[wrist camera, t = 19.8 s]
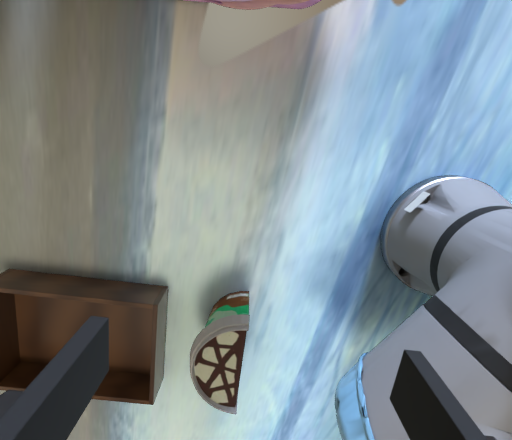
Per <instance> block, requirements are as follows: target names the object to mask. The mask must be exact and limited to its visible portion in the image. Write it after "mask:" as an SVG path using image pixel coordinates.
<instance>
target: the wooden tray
mask: <svg viewBox="0 0 512 440" xmlns="http://www.w3.org/2000/svg"><path fill="white" fill-rule="evenodd" d="M167 302H168V286H159V285H150V284H141V283H132V282H123V281H114V280H105V279H96V278H87V277H78V276H70V275H61V274H52V273H43V272H34V271H25V270H16V269H8V270H6V271H5V272H3V273H1V274H0V390H6V391H7V390H18V391H24V390H25V389H26V388H27V387H28V386H29V385H30V384H31V382H32V381H33V380H34V379H35V378H36V377H37V376H38V375H39V373H40V372H41V371H42V370H43V369H44V368H45V367H46V366H47V364H48V363H49V362H50V361H51V360H52V359H53V358H54V357H55V356H56V354H57V353H58V352H59V351H60V350H61V349H62V348H63V347H64V345H65V344H66V343H67V342H68V341H69V340H70V339H71V338H72V336H73V335H74V334H75V333H76V332H77V331H78V330H79V329H80V328H81V326H82V325H83V324H84V323H85V322H86V321H87V320H88V319H89V317H90V316H98V317H107V318H109V371H108V373H107V374H106V376H105V377H104V379H103V381H102V382H101V384H100V386H99V387H98V389H97V391H96V392H95V394H94V395H93V397H92V399H98V400H108V401H119V402H129V403H139V404H150V405H153V404H154V401H155V399H156V396H157V393H158V391H159V388H160V385H161V383H162V380H163V374H164V356H165V338H166V320H167Z"/></svg>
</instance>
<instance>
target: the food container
mask: <svg viewBox="0 0 512 440" xmlns="http://www.w3.org/2000/svg"><path fill="white" fill-rule="evenodd" d="M248 330H249V291H239V292H234V293H230V294H228V295H226V296H224V297H222V298H220V299H219V301H218V302H217V303H216V304H215V305H214V306H213V308H212V311H211V313H210V315H209V318H208V321H207V323H206V326H205V328H204V329H203V330H202V331H201V332H200V333H199V334H198V336H197V337H196V339H195V340H194V342H193V345H192V347H191V352H190V373H191V378H192V381H193V384H194V386H195V389H196V390H197V392H198V393H199V395H200V396H201V397H202V398H203V399H204V400H205V401H206V402H207V403H208V404H210V405H211V406H213V407H214V408H216V409H219V410H221V411H224V412H227V413H231V414H236V411H237V398H238V387H239V380H240V373H241V366H242V361H243V360H242V359H243V352H244V346H245V339H246V331H248Z"/></svg>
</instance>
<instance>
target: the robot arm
mask: <svg viewBox="0 0 512 440" xmlns="http://www.w3.org/2000/svg"><path fill="white" fill-rule="evenodd" d="M381 250H382V254H383V257H384V260H385V262H386V264H387V265H388V267H389V268H390V270H391V271H392V272H393V273H394V274H395V275H396V276H397V277H398V278H399V279H400V280H401V281H402V282H403V283H404V284H406V285H407V286H409V287H410V288H412V289H414V290H417V291H420V292H423V293H426V294H429V295H432V296H433V297H432V298H430V299H429V300H428V301H427V302H426V303H425V304H423V305H422V306H421V307H420V308H418V309H417V310H416V311H415V312H414V313H413V314H412V315H411V316H409V317H408V318H407V319H406V320H405V321H404V322H403V323H402V324H400V325H399V326H398V327H397V328H396V329H395V330H394V331H393V332H391V333H390V334H389V335H388V336H387V337H386V338H385V339H384V340H382V341H381V342H380V343H379V344H378V345H377V346H376V347H375V348H373V349H372V350H371V351H370V352H367V353H364V354H362V355H361V357H360V358H359V360H358V362H357V363H356V364H355V365H354V366H353V367H352V368H351V369H350V370H349V371H348V372H347V373H346V374H345V375H344V376H343V377H342V379H341V380H340V382H339V383H338V386H337V389H336V393H335V408H336V413H337V415H336V416H337V422H338V427H339V430H340V434H341V437H342V440H512V204H511V203H509V202H508V201H507V200H506V199H505V198H504V197H502V196H501V195H500V194H499V193H498V192H497V191H496V190H495V189H493V188H492V187H491V186H489V185H487V184H486V183H483V182H481V181H479V180H475V179H471V178H467V177H462V176H454V175H445V176H438V177H433V178H430V179H427V180H425V181H422V182H420V183H418V184H416V185H414V186H413V187H411V188H410V189H408V190H407V191H406V192H405V193H403V194H402V195H401V196H400V197H399V198H398V199H397V200H396V202H395V203H394V204H393V206H392V207H391V209H390V210H389V212H388V214H387V216H386V218H385V220H384V223H383V226H382V231H381ZM108 371H109V318H107V317H98V316H90V317H89V319H88V320H87V321H86V322H85V323H84V324H83V325H82V326H81V328H80V329H79V330H78V331H77V332H76V333H75V334H74V335H73V336H72V338H71V339H70V340H69V341H68V342H67V343H66V344H65V345H64V347H63V348H62V349H61V350H60V351H59V352H58V353H57V354H56V356H55V357H54V358H53V359H52V360H51V361H50V362H49V363H48V364H47V366H46V367H45V368H44V369H43V370H42V371H41V372H40V373H39V375H38V376H37V377H36V378H35V379H34V380H33V381H32V382H31V384H30V385H29V386H28V387H27V388H26V389H25V390H24V391H18V390H7V391H6V392H4V393H3V394H1V395H0V440H66V439H67V438H68V436H69V435H70V433H71V431H72V430H73V428H74V426H75V425H76V423H77V421H78V420H79V418H80V417H81V415H82V413H83V412H84V410H85V408H86V407H87V405H88V404H89V402H90V400H91V399H92V397H93V395H94V394H95V392H96V391H97V389H98V387H99V386H100V384H101V382H102V381H103V379H104V377H105V376H106V374H107V373H108Z"/></svg>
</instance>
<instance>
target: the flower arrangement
mask: <svg viewBox="0 0 512 440" xmlns="http://www.w3.org/2000/svg"><path fill="white" fill-rule="evenodd" d="M185 1H198V2H211V3H215V4H218V5H221V6H225V7H229V8H235V9H247V10H251V9H260V8H266V7H278V8H291V9H302V8H306V7H310V6H312V5H314V4H316V3H318V2H319V1H321V0H185Z"/></svg>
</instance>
